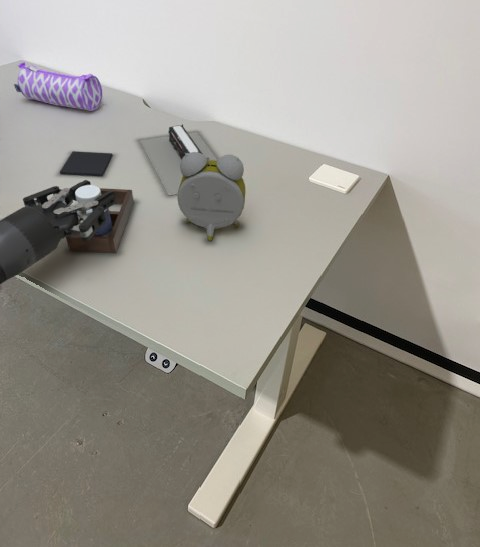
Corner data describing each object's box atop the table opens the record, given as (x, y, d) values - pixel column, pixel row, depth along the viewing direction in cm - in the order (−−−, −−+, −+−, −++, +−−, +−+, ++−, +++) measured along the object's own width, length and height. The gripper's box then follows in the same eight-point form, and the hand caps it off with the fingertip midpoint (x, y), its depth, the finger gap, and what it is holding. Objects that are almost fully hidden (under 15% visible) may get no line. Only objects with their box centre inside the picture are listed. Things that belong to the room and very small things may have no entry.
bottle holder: (69, 250, 72) (65, 237, 70) (93, 200, 83) (90, 187, 81) (116, 253, 72) (113, 239, 70) (133, 202, 83) (131, 189, 81)
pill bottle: (117, 229, 77) (108, 183, 70) (110, 248, 73) (99, 201, 66) (88, 227, 77) (76, 181, 70) (79, 246, 73) (65, 199, 66)
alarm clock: (243, 221, 80) (248, 149, 70) (241, 244, 76) (246, 170, 65) (183, 217, 81) (179, 144, 70) (177, 239, 76) (171, 165, 65)
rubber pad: (60, 174, 89) (59, 171, 89) (73, 153, 96) (72, 151, 95) (102, 176, 90) (102, 174, 89) (112, 155, 96) (112, 153, 96)
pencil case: (18, 103, 113) (6, 66, 107) (40, 91, 120) (30, 55, 113) (90, 117, 109) (82, 80, 103) (109, 104, 116) (102, 68, 109)
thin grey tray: (196, 132, 106) (196, 116, 103) (234, 183, 90) (235, 165, 87) (140, 140, 102) (137, 123, 99) (169, 195, 86) (167, 177, 83)
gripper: (42, 242, 55) (130, 184, 66) (-27, 205, 60) (65, 157, 71) (56, 281, 60) (136, 222, 71) (-8, 245, 65) (75, 195, 76)
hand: (100, 190), depth 71 cm, fingers closed on pill bottle, 5 cm apart
